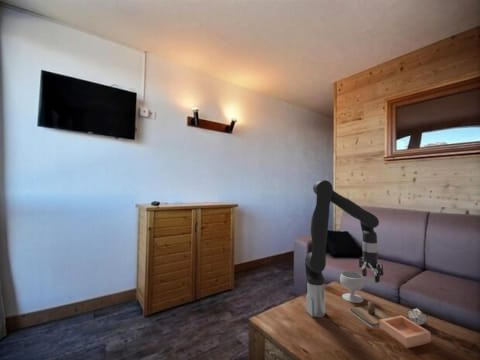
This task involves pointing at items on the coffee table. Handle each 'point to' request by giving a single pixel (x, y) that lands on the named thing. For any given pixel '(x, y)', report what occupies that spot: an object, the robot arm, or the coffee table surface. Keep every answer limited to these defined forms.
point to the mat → (364, 321)
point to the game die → (417, 316)
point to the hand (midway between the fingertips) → (370, 279)
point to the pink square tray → (405, 331)
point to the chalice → (352, 285)
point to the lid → (370, 313)
